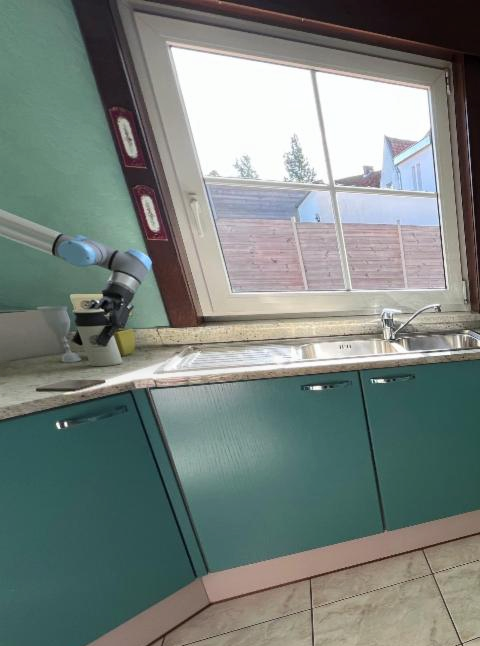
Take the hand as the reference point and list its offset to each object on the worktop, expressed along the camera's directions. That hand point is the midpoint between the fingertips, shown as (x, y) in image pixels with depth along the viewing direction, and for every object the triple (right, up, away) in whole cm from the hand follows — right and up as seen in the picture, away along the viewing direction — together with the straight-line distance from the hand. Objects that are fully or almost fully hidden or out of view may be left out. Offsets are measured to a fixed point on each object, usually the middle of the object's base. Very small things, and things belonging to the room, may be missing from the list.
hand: (88, 343), depth 161 cm
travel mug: (0, -6, +6) cm, 9 cm away
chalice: (-16, -4, +10) cm, 20 cm away
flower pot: (-9, 0, +20) cm, 22 cm away
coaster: (+17, -17, -20) cm, 31 cm away
